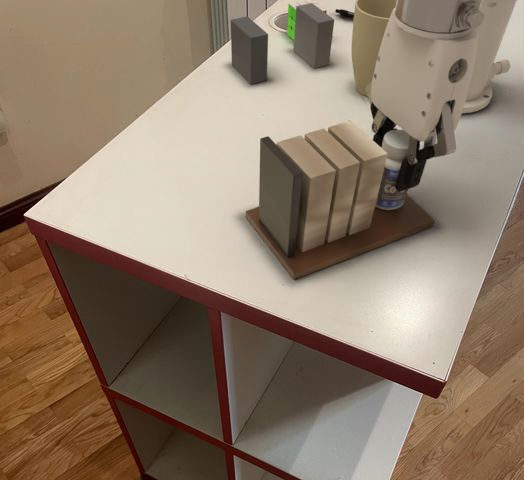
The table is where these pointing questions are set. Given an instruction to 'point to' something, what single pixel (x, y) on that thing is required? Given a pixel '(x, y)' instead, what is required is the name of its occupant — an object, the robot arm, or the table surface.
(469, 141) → the table surface
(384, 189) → the pill bottle
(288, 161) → the bookend with books
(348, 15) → the pen
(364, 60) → the mug
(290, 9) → the green boxy piece
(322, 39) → the grey bookends
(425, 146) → the robot arm
